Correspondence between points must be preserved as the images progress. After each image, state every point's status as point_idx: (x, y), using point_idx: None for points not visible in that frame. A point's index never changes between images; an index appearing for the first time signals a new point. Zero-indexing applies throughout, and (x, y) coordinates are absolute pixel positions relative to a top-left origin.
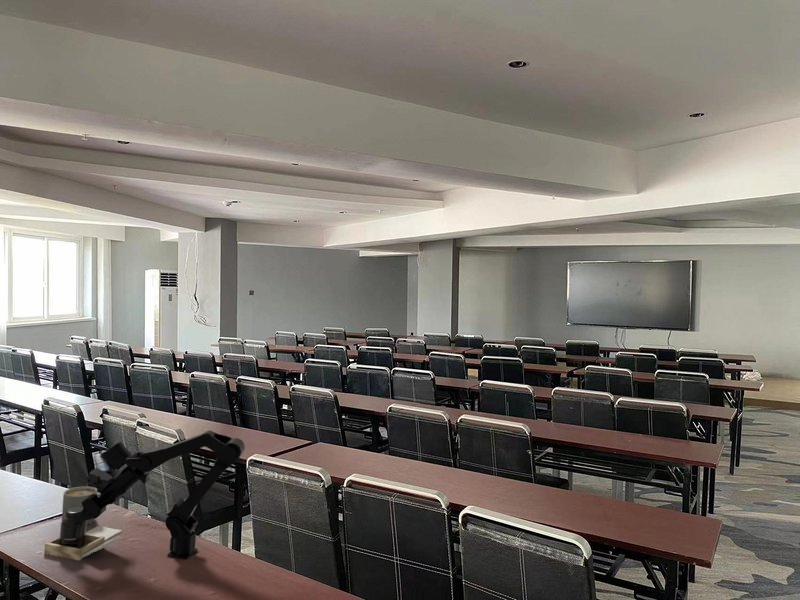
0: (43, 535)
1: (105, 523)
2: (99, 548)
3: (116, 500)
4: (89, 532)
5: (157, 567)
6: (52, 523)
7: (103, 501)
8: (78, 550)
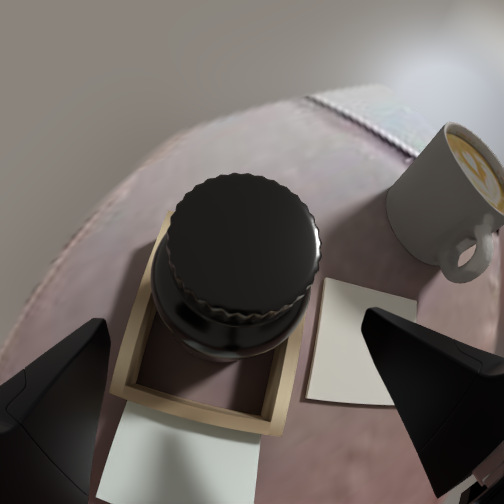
0: (311, 169)
1: (439, 307)
2: (99, 487)
3: (458, 484)
4: (369, 301)
5: None
6: (384, 164)
7: (434, 413)
8: (110, 386)
